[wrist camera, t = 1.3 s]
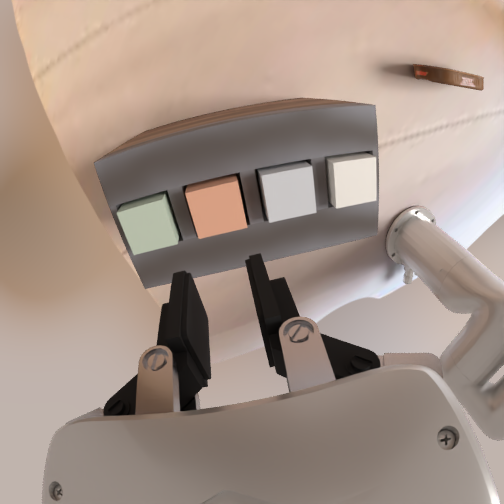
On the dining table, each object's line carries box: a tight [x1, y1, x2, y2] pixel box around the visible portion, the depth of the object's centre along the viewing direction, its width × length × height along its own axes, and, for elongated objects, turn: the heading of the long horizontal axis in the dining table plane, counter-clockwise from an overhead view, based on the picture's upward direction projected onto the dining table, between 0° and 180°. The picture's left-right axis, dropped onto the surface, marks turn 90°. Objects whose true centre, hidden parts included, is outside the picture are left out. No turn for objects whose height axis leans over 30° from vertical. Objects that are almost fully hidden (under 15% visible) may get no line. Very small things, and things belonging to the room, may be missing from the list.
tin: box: [413, 64, 484, 90], centre depth 30 cm, size 15×3×8 cm, turn 100°
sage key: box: [117, 190, 180, 255], centre depth 21 cm, size 4×4×2 cm
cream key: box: [324, 151, 377, 209], centre depth 22 cm, size 4×4×2 cm
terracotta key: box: [185, 173, 247, 239], centre depth 21 cm, size 4×4×2 cm
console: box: [94, 98, 379, 289], centre depth 29 cm, size 12×22×19 cm, turn 100°
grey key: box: [256, 160, 317, 223], centre depth 22 cm, size 4×4×2 cm
